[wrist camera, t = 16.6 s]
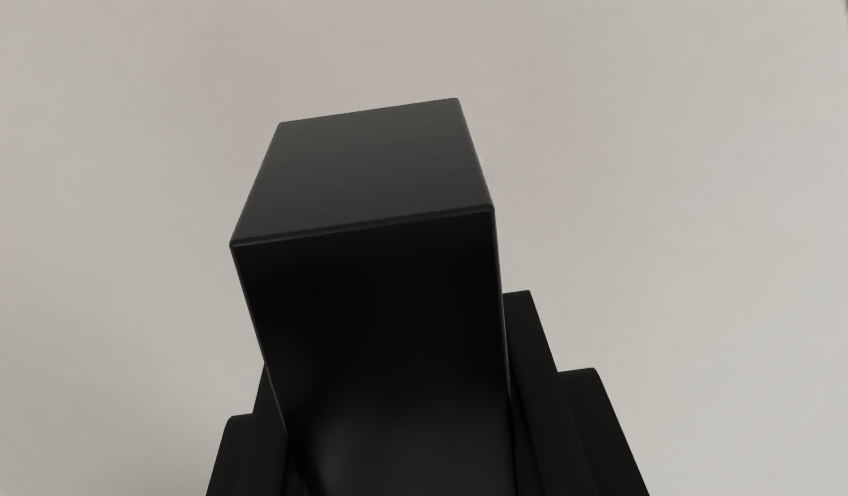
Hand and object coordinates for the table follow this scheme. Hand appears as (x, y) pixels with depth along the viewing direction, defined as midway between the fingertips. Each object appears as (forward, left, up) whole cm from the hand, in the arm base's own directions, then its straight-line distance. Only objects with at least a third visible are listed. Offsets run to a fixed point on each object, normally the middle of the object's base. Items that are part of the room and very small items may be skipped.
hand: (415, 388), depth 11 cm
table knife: (+5, 0, 0) cm, 5 cm away
